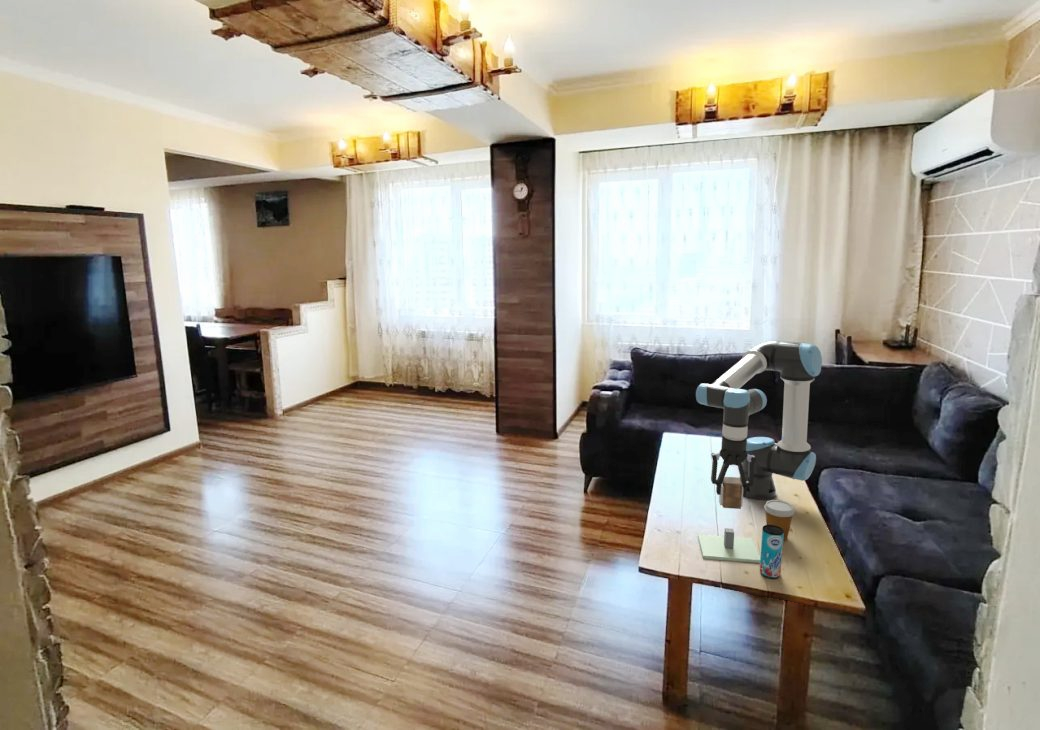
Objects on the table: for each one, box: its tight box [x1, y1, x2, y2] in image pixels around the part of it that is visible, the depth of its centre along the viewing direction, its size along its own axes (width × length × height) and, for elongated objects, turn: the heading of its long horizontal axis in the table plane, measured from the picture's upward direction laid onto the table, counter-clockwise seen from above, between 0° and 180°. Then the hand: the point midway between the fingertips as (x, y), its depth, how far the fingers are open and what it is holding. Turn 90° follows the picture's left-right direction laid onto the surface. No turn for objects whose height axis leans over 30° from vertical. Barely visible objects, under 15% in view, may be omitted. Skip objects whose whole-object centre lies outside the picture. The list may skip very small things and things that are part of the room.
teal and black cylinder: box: [759, 524, 784, 580], centre depth 165 cm, size 6×6×15 cm
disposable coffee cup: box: [763, 499, 796, 543], centre depth 187 cm, size 10×10×12 cm
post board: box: [697, 527, 761, 564], centre depth 180 cm, size 18×14×7 cm
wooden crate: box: [721, 476, 742, 510], centre depth 177 cm, size 5×5×9 cm
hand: (730, 504), depth 178 cm, fingers closed on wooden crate, 5 cm apart
